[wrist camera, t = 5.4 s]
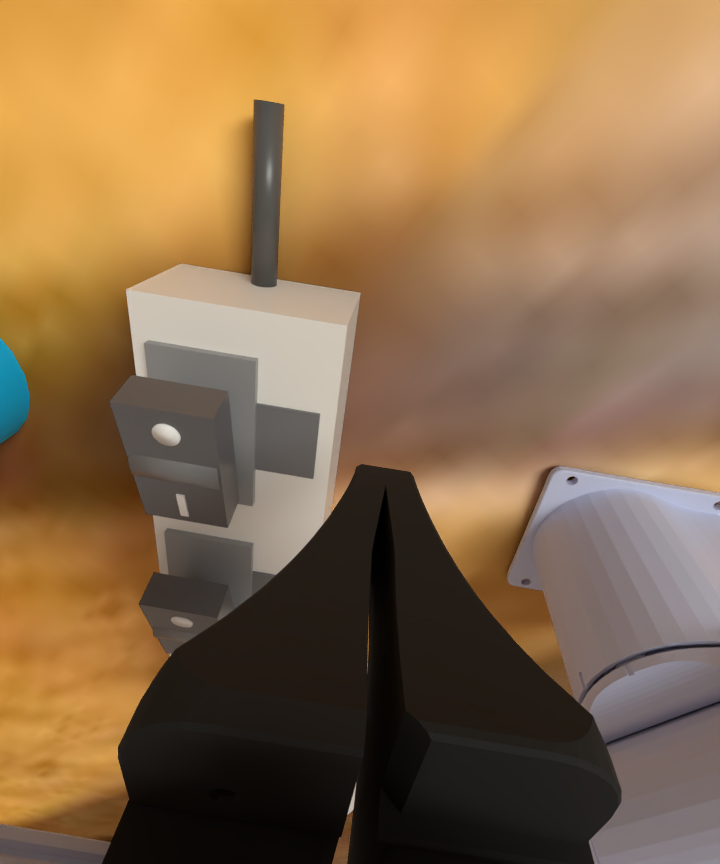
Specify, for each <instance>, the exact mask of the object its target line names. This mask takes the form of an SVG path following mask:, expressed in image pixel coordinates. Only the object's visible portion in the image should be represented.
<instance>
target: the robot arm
mask: <svg viewBox="0 0 720 864" xmlns="http://www.w3.org/2000/svg"><path fill="white" fill-rule="evenodd" d="M573 476H574V477H575V478H574V479H573V480H569V481H568V480H567V479H568V478H569V477H573ZM717 502H719V503H718V504H716V505H714V504H715V503H717ZM523 579H526V580H523ZM507 581H508V583H509V584H510V585H513V586H517V587H523V588H529V589H534V590H540V591H543V593H544V596H545V600H546V603H547V606H548V610H549V613H550V617H551V620H552V624H553V627H554V631H555V634H556V637H557V641H558V644H559V648H560V651H561V655H562V658H563V662H564V665H565V668H566V672H567V675H568V679H569V682H570V686H571V689H572V693H573V696H574V698H573V697H572V696H571V695H569V694H568V693H567V692H566V691H565V690H564V689H563V688H562V687H561V686H559V685H558V684H557V683H556V682H555V681H554V680H553V679H552V678H551V677H549V676H548V675H547V674H546V673H545V672H544V671H543V670H542V669H541V668H540V667H539V666H538V665H537V664H536V663H535V662H534V661H533V660H532V659H531V658H530V657H529V656H528V655H527V654H526V653H525V652H524V651H523V649H522V648H521V647H520V646H519V645H518V644H517V643H516V642H515V641H514V640H513V639H512V637H511V636H510V635H509V634H508V633H507V632H506V630H505V629H504V628H503V627H502V626H501V625H500V624H499V622H498V621H497V620H496V619H495V618H494V617H493V615H492V614H491V613H490V612H489V611H488V609H487V608H486V607H485V605H484V604H483V603H482V601H481V600H480V599H479V598H478V596H477V595H476V594H475V592H474V591H473V589H472V588H471V586H470V585H469V584H468V582H467V581H466V579H465V578H464V576H463V575H462V573H461V572H460V570H459V569H458V567H457V566H456V564H455V562H454V561H453V559H452V557H451V556H450V554H449V552H448V551H447V549H446V547H445V545H444V544H443V542H442V540H441V538H440V536H439V534H438V532H437V530H436V528H435V526H434V524H433V522H432V520H431V518H430V516H429V514H428V512H427V510H426V508H425V505H424V503H423V501H422V498H421V496H420V493H419V491H418V488H417V485H416V483H415V480H414V476H413V475H412V474H411V472H407V471H401V470H394V469H388V468H382V467H376V466H370V465H363V464H361V465H359V466H357V467H356V470H355V473H354V476H353V478H352V480H351V482H350V484H349V486H348V488H347V490H346V491H345V493H344V495H343V496H342V498H341V499H340V501H339V502H338V504H337V505H336V507H335V509H334V510H333V512H332V513H331V514H330V516H329V517H328V518H327V520H326V521H325V522H324V524H323V525H322V526H321V527H320V529H319V530H318V531H317V532H316V534H315V535H314V536H313V537H312V539H311V540H310V541H309V542H308V543H307V544H306V545H305V547H304V548H303V549H302V550H301V551H300V552H299V553H298V554H297V555H296V556H295V557H294V558H293V559H292V560H291V561H290V562H289V563H288V564H287V565H286V566H285V567H284V568H283V569H282V570H281V571H280V572H279V573H278V574H277V575H275V576H274V577H273V578H272V579H271V580H270V581H269V582H268V583H267V584H266V585H264V586H263V587H262V588H261V589H260V590H259V591H257V592H256V593H255V594H253V595H252V596H251V597H250V598H248V599H247V600H246V601H244V602H243V603H242V604H241V605H239V606H238V607H237V608H235V609H234V610H233V611H231V612H230V613H229V614H228V615H226V616H225V617H223V618H222V619H221V620H219V621H218V622H216V623H215V624H213V625H212V626H210V627H209V628H207V629H205V630H204V631H202V632H201V633H199V634H198V635H196V636H195V637H193V638H192V639H190V640H189V641H187V642H185V643H184V644H182V645H181V646H179V647H178V648H176V649H175V650H174V652H173V653H172V654H171V656H170V657H169V658H168V660H167V661H166V662H165V664H164V665H163V667H162V668H161V669H160V671H159V672H158V674H157V675H156V677H155V678H154V680H153V681H152V683H151V684H150V686H149V688H148V689H147V691H146V693H145V694H144V696H143V697H142V699H141V701H140V703H139V705H138V707H137V709H136V711H135V713H134V715H133V717H132V719H131V721H130V723H129V725H128V727H127V730H126V732H125V734H124V736H123V738H122V740H121V742H120V744H119V746H118V760H119V763H120V767H121V771H122V774H123V778H124V781H125V785H126V789H127V792H128V796H129V801H128V803H127V806H126V808H125V811H124V813H123V815H122V818H121V820H120V822H119V825H118V827H117V829H116V832H115V834H114V836H113V839H112V841H111V842H107V841H101V840H95V839H89V838H83V837H77V836H71V835H65V834H59V833H53V832H47V831H41V830H35V829H29V828H23V827H17V826H11V825H5V824H0V864H332V861H333V857H334V854H335V850H336V846H337V843H338V839H339V837H341V835H342V832H343V828H344V824H345V821H346V817H347V814H348V810H349V807H350V803H351V799H352V796H353V792H354V789H355V785H356V790H355V800H354V809H353V818H352V827H351V836H350V845H349V853H348V862H347V864H720V493H717V492H711V491H706V490H700V489H694V488H688V487H682V486H676V485H670V484H664V483H658V482H652V481H646V480H640V479H634V478H628V477H622V476H617V475H611V474H605V473H599V472H593V471H587V470H581V469H575V468H569V467H556V468H554V469H552V470H551V472H550V473H549V475H548V478H547V480H546V482H545V485H544V487H543V490H542V492H541V494H540V497H539V499H538V501H537V504H536V506H535V509H534V511H533V513H532V516H531V518H530V520H529V523H528V525H527V528H526V530H525V532H524V535H523V537H522V539H521V542H520V544H519V547H518V549H517V551H516V554H515V556H514V559H513V561H512V563H511V566H510V568H509V570H508V573H507ZM368 617H369V655H368V673H367V649H368Z"/></svg>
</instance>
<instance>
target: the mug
mask: <svg viewBox="0 0 720 864" xmlns="http://www.w3.org/2000/svg"><path fill="white" fill-rule="evenodd" d="M29 403H30V396H29V391H28V387H27V382H26V378H25V375H24V373H23V371H22V369H21V368H20V366H19V364H18V362H17V360H16V358H15V357H14V355H13V353H12V351H11V350H10V349H9V348H8V347H7V345H6V344H5V343H4V342H3V341H2V340H1V339H0V444H1V443H2V442H4V441H5V440H7V439H8V438H9V437H11V436H12V435H14V434H15V433H17V432H18V431H19V429H20V428H21V426H22V425H23V423H24V422H25V420H26V419H27V418H28V410H29Z"/></svg>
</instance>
